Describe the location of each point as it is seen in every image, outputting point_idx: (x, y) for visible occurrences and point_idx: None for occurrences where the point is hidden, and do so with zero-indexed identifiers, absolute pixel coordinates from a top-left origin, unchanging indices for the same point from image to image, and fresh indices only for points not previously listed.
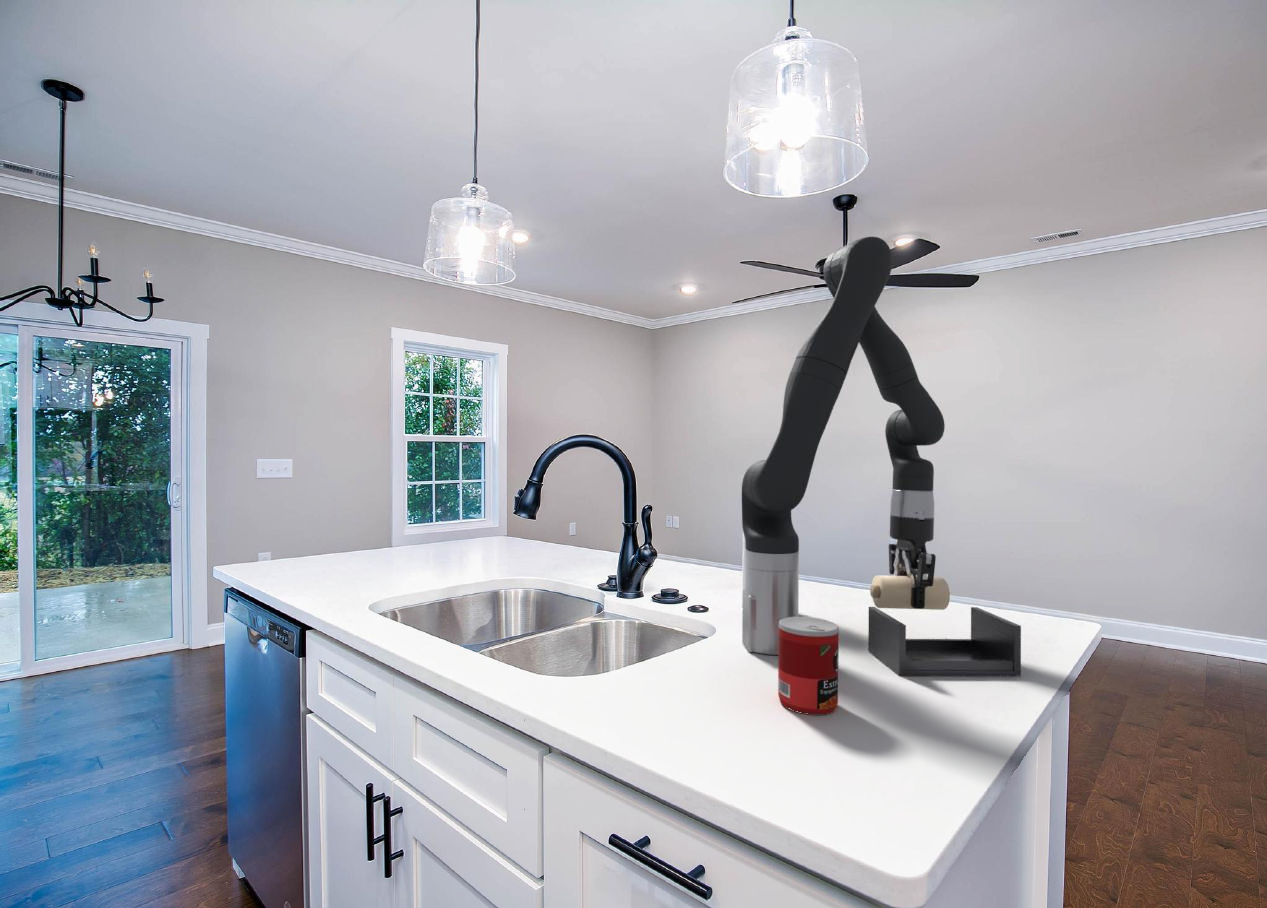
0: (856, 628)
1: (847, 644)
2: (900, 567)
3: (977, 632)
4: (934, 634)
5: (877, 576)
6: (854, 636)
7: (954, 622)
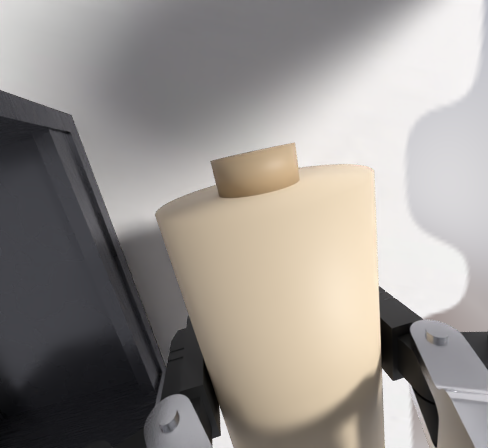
0: (324, 129)
1: (135, 60)
2: (458, 446)
3: (118, 426)
4: None
5: (313, 199)
6: (235, 105)
7: None
